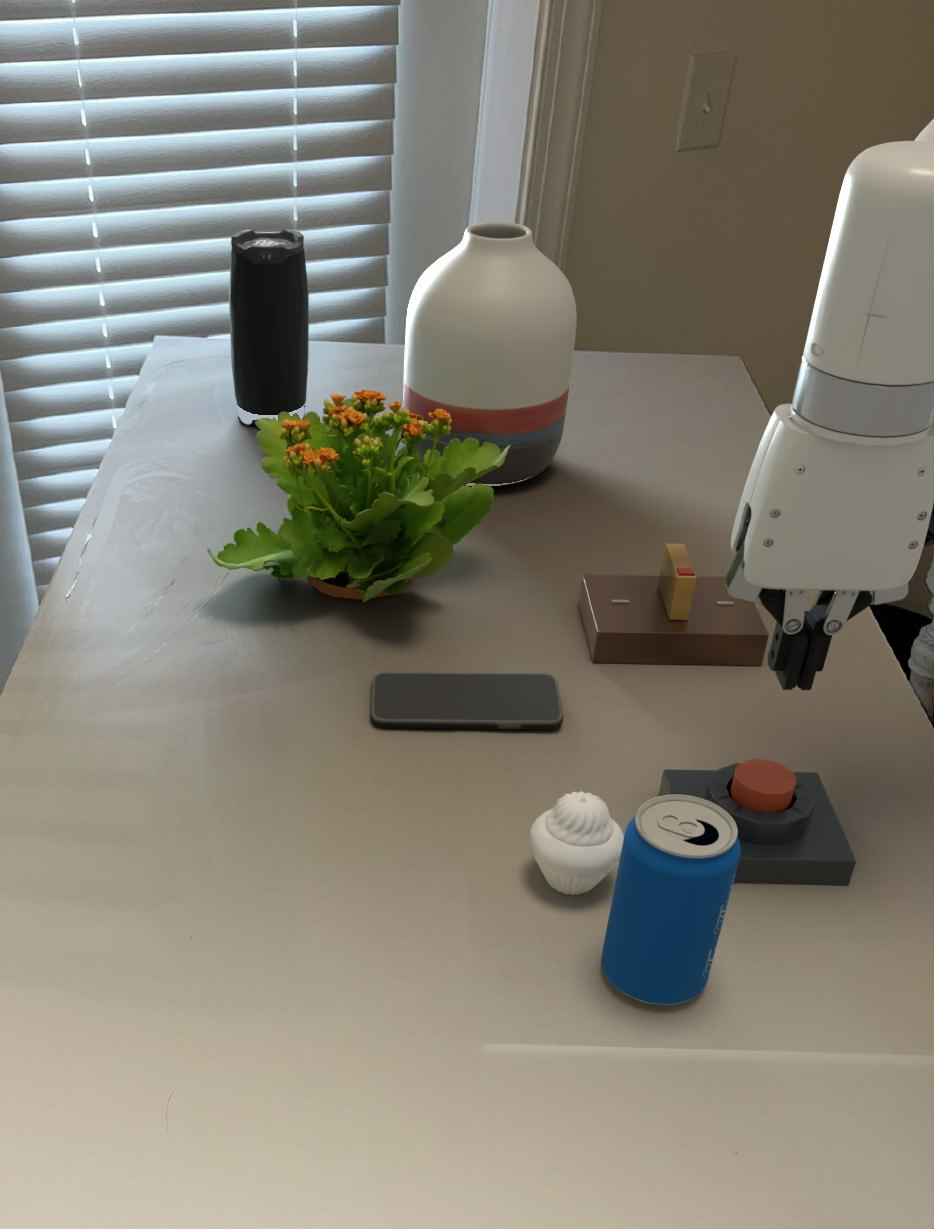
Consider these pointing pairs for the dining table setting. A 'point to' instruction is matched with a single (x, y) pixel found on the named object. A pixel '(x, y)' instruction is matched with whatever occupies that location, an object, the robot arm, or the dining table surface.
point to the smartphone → (466, 700)
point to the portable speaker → (269, 321)
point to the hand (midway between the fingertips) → (791, 678)
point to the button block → (776, 830)
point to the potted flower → (365, 498)
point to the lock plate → (668, 624)
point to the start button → (763, 786)
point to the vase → (493, 348)
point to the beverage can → (670, 898)
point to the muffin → (576, 843)
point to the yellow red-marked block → (677, 581)
